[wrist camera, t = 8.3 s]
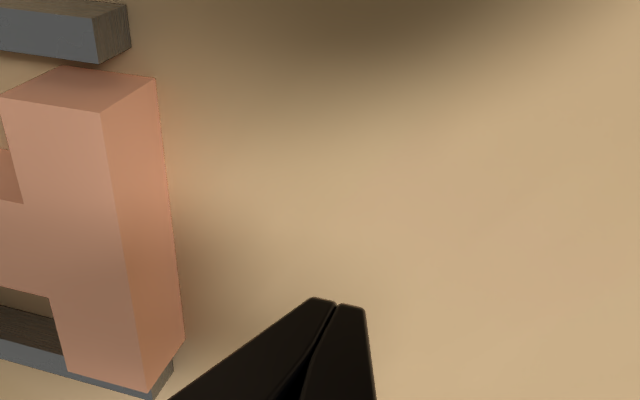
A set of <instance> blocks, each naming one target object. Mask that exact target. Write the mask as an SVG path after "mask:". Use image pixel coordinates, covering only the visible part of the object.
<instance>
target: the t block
mask: <svg viewBox="0 0 640 400" xmlns="http://www.w3.org/2000/svg"><path fill="white" fill-rule="evenodd" d="M0 115H1V119H2V123H3V127H4V130H5V134H6V138H7V142H8V146H9V150H6V149H0V286H2V287H6V288H10V289H14V290H18V291H23V292H27V293H31V294H35V295H39V296H43V297H47V298H49V302H50V306H51V309H52V313H53V317H54V321H55V325H56V329H57V332H58V336H59V340H60V344H61V348H62V351H63V355H64V359H65V363H66V367H67V370H68V372H72V373H75V374H79V375H83V376H86V377H90V378H93V379H97V380H101V381H104V382H108V383H111V384H115V385H119V386H122V387H126V388H129V389H133V390H137V391H140V392H144V393H148V392H149V391H150V389H151V388H152V387H153V385H154V384H155V382H156V381H157V379H158V378H159V376H160V375H161V374H162V372H163V371H164V369H165V368H166V366H167V365H168V364H169V362H170V361H171V359H172V358H173V356H174V355H175V353H176V352H177V351H178V349H179V348H180V346H181V345H182V343H183V342H184V341H185V339H186V338H185V329H184V321H183V312H182V303H181V295H180V286H179V278H178V269H177V261H176V252H175V243H174V235H173V226H172V218H171V209H170V201H169V192H168V183H167V175H166V166H165V158H164V149H163V141H162V132H161V123H160V115H159V106H158V98H157V89H156V81H155V78H151V77H144V76H137V75H130V74H123V73H116V72H109V71H102V70H94V69H87V68H80V67H73V66H66V65H60V66H58V67H56V68H54V69H52V70H50V71H48V72H46V73H44V74H42V75H40V76H37V77H35V78H33V79H31V80H29V81H27V82H25V83H23V84H21V85H19V86H16V87H14V88H12V89H10V90H8V91H6V92H4V93H2V94H0Z"/></svg>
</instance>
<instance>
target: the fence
mask: <svg viewBox="0 0 640 400" xmlns="http://www.w3.org/2000/svg"><path fill="white" fill-rule="evenodd" d="M129 48H131V40H130V32H129V24H128V16H127V9H126V5H124V4H115V3H107V2H98V1H89V0H0V50H4V51H11V52H18V53H25V54H32V55H39V56H46V57H53V58H60V59H67V60H74V61H81V62H87V63H94V64H100V63H102V62H104V61H106V60H108V59H110V58H112V57H114V56H116V55H117V54H119V53H121V52H123V51H125V50H127V49H129ZM0 359H4V360H8V361H11V362H15V363H18V364H22V365H25V366H29V367H32V368H36V369H39V370H43V371H46V372H50V373H53V374H57V375H60V376H64V377H68V378H71V379H75V380H78V381H82V382H85V383H89V384H92V385H96V386H99V387H103V388H106V389H110V390H113V391H117V392H120V393H124V394H128V395H131V396H135V397H138V398H142V399H145V400H155V398H156V397H157V395H158V394H159V392H160V391H161V389H162V388H163V386H164V385H165V383H166V382H167V380H168V379H169V377H170V376H171V374H172V373H173V363H172V359H171V361H170V362H169V364H168V365H167V366H166V368H165V369H164V371H163V372H162V374H161V375H160V376H159V378H158V379H157V381H156V382H155V384H154V385H153V387H152V388H151V389H150V391H149V392H148V393H144V392H140V391H137V390H133V389H129V388H126V387H122V386H119V385H115V384H111V383H108V382H104V381H101V380H97V379H93V378H90V377H86V376H83V375H79V374H75V373H72V372H68V370H67V367H66V363H65V359H64V355H63V351H62V348H61V344H60V340H59V336H58V332H57V329H56V325H55V321H54V319H51V318H47V317H43V316H39V315H35V314H32V313H28V312H24V311H20V310H16V309H12V308H8V307H5V306H1V305H0Z"/></svg>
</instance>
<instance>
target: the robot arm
mask: <svg viewBox="0 0 640 400" xmlns="http://www.w3.org/2000/svg"><path fill="white" fill-rule="evenodd" d="M168 400H377V398H376V390H375V383H374V375H373V367H372V360H371V352H370V344H369V337H368V329H367V321H366V314H365V310H364V309H363V308H361V307H357V306H353V305H348V304H344V303H341V304H339V305H338V306H337V304H336V303H335V302H334V301H330V300H326V299H321V298H317V297H312V298H309V299H307V300H306V301H305V302H303V303H302V304H300V305H299V306H298V307H296V308H295V309H293V310H292V311H291V312H289V313H288V314H286V315H285V316H284V317H282V318H281V319H279V320H278V321H277V322H275V323H274V324H273V325H271V326H270V327H268V328H267V329H266V330H264V331H263V332H261V333H260V334H259V335H257V336H256V337H254V338H253V339H252V340H250V341H249V342H247V343H246V344H245V345H243V346H242V347H240V348H239V349H238V350H236V351H235V352H233V353H232V354H231V355H229V356H228V357H226V358H225V359H224V360H222V361H221V362H219V363H218V364H217V365H215V366H214V367H212V368H211V369H210V370H208V371H207V372H206V373H204V374H203V375H201V376H200V377H199V378H197V379H196V380H194V381H193V382H192V383H190V384H189V385H187V386H186V387H185V388H183V389H182V390H180V391H179V392H178V393H176V394H175V395H173V396H172V397H171V398H169V399H168Z"/></svg>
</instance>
